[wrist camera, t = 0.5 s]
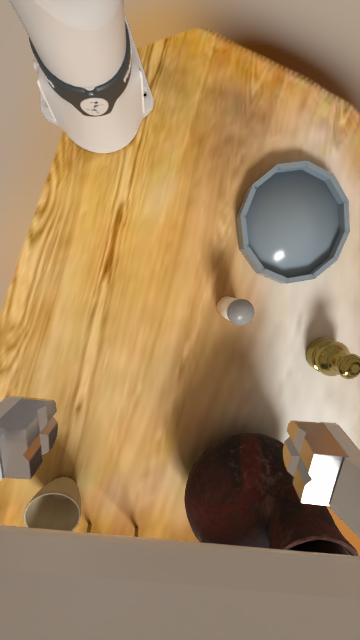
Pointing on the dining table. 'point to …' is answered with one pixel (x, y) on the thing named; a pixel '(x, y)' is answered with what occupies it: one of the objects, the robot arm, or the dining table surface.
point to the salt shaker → (333, 358)
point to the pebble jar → (235, 310)
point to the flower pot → (55, 506)
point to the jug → (256, 501)
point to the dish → (293, 222)
